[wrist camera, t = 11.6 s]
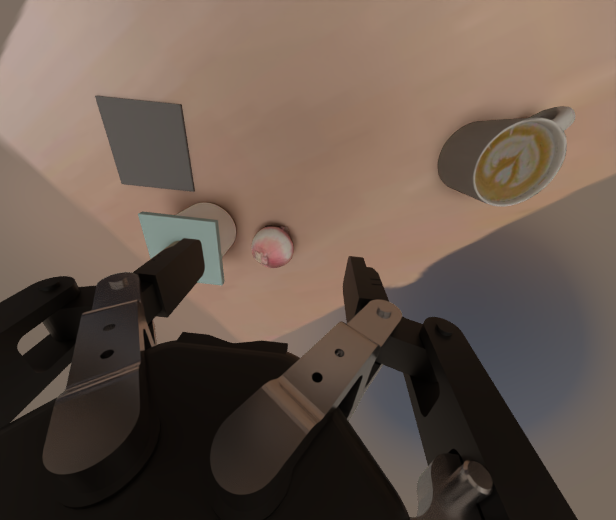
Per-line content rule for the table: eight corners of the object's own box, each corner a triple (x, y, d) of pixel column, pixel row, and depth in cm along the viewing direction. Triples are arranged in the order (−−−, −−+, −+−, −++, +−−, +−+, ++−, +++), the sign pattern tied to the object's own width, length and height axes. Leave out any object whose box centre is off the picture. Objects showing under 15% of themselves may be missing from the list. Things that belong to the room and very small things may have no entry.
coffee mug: (447, 200, 40) (483, 220, 31) (429, 146, 36) (463, 151, 27) (536, 156, 35) (605, 164, 27) (526, 89, 32) (603, 73, 23)
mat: (97, 95, 35) (94, 95, 35) (181, 104, 35) (180, 104, 34) (123, 183, 41) (121, 184, 41) (194, 191, 41) (193, 191, 41)
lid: (142, 211, 33) (109, 226, 28) (217, 219, 33) (198, 236, 28) (159, 274, 39) (134, 297, 33) (224, 281, 39) (209, 305, 33)
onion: (254, 244, 47) (235, 251, 40) (275, 215, 44) (259, 217, 38) (283, 270, 47) (269, 281, 40) (306, 242, 44) (295, 249, 37)
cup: (248, 234, 45) (230, 259, 36) (212, 256, 48) (187, 284, 39) (213, 190, 41) (184, 206, 32) (176, 217, 44) (140, 238, 35)
